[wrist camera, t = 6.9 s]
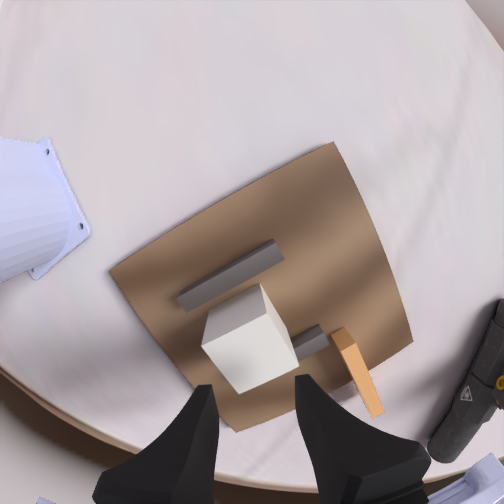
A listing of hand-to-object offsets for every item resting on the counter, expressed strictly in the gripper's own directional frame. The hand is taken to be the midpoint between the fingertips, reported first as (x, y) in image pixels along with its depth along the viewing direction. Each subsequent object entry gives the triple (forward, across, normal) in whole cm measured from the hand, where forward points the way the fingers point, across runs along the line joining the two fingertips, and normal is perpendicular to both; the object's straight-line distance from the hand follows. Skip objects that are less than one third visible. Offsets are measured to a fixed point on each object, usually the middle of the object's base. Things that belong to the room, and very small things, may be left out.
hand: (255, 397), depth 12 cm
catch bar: (+8, -8, +6) cm, 13 cm away
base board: (+9, -2, 0) cm, 10 cm away
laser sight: (+10, -27, +14) cm, 32 cm away
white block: (+8, 0, 0) cm, 8 cm away
